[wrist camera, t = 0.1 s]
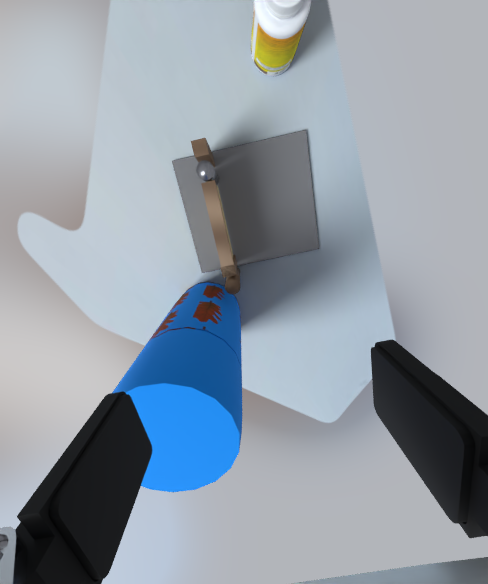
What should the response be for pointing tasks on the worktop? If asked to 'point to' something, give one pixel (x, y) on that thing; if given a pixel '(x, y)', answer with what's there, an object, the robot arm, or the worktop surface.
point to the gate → (217, 217)
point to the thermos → (191, 390)
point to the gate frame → (252, 200)
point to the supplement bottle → (277, 33)
